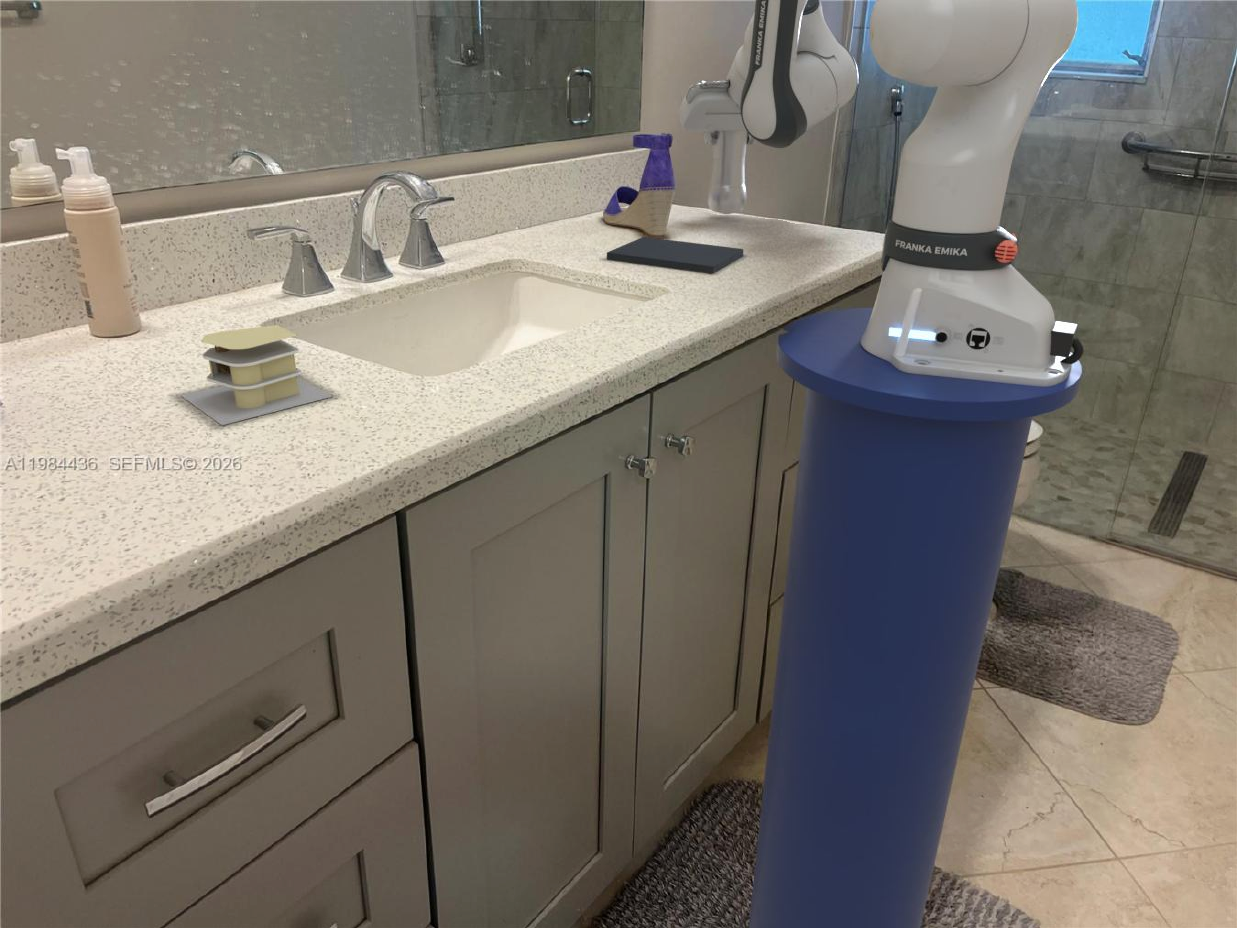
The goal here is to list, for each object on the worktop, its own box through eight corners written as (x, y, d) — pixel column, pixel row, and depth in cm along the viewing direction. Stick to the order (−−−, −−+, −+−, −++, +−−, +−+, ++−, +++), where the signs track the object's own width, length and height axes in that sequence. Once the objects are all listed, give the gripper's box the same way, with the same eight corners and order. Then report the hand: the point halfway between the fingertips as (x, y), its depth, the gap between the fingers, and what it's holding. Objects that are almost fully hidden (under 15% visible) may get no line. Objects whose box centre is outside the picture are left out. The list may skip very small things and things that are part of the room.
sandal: (642, 214, 163) (645, 122, 157) (679, 239, 146) (683, 137, 140) (596, 216, 162) (597, 123, 155) (628, 241, 144) (630, 137, 138)
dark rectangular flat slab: (743, 255, 137) (743, 249, 137) (712, 273, 127) (713, 266, 127) (643, 243, 143) (643, 236, 143) (606, 259, 134) (606, 252, 133)
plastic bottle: (748, 211, 162) (756, 85, 154) (741, 218, 157) (748, 87, 148) (711, 209, 164) (717, 84, 156) (703, 215, 158) (708, 86, 150)
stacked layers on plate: (287, 370, 91) (279, 315, 88) (332, 396, 85) (325, 337, 82) (180, 395, 84) (169, 336, 82) (222, 425, 79) (211, 362, 76)
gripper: (696, 98, 140) (673, 159, 153) (822, 97, 145) (789, 156, 158) (687, 64, 142) (665, 127, 155) (812, 64, 147) (780, 125, 160)
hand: (729, 141), depth 156 cm, fingers closed on plastic bottle, 6 cm apart
